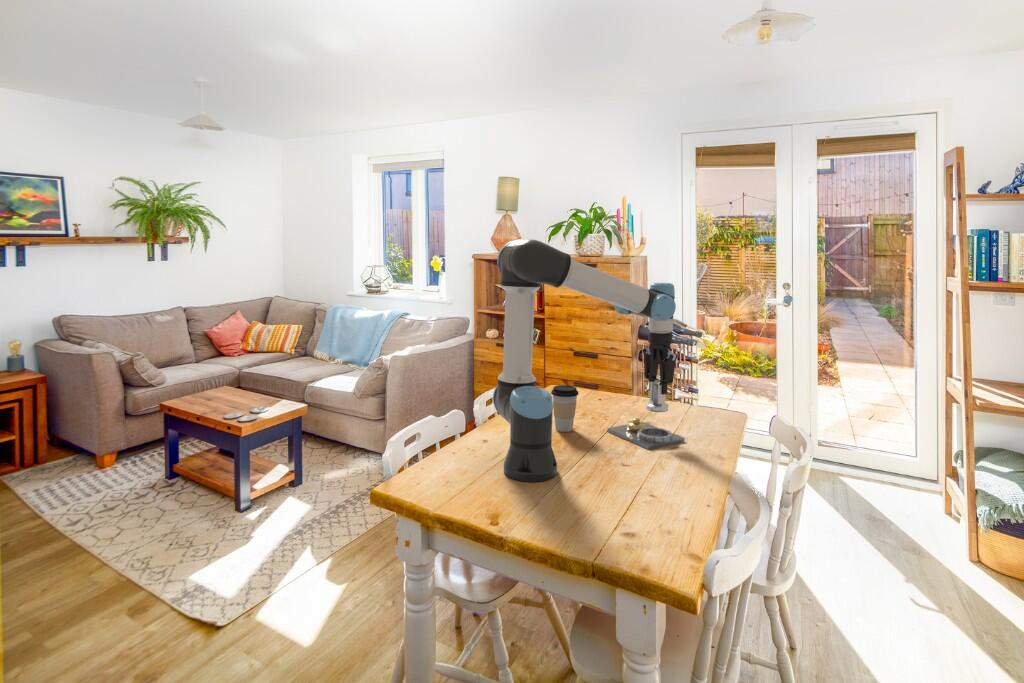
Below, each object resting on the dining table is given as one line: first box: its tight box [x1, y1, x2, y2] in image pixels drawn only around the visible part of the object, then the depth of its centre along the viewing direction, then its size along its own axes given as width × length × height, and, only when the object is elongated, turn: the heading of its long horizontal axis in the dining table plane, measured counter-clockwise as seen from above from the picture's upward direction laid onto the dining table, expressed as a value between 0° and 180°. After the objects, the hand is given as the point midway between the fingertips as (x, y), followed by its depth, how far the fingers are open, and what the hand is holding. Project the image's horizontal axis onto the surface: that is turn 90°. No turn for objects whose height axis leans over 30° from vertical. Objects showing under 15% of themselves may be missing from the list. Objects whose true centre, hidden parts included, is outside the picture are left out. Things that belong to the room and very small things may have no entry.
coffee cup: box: [550, 384, 579, 433], centre depth 196 cm, size 9×9×15 cm
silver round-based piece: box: [645, 383, 669, 413], centre depth 185 cm, size 7×7×8 cm
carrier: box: [607, 417, 685, 450], centre depth 191 cm, size 16×20×5 cm
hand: (657, 402), depth 185 cm, fingers closed on silver round-based piece, 3 cm apart
